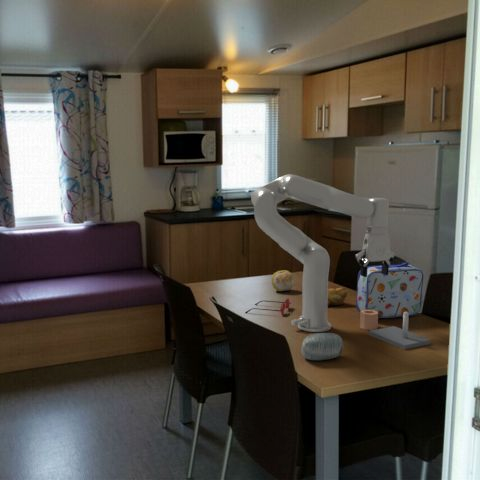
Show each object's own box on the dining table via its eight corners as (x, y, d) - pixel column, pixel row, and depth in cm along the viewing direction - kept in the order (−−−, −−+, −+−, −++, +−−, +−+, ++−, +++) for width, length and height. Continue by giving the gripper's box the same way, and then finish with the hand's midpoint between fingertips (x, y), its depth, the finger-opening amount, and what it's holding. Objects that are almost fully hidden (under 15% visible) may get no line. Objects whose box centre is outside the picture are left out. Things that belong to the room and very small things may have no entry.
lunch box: (412, 309, 242) (414, 258, 239) (426, 316, 233) (429, 263, 229) (353, 315, 235) (354, 262, 231) (365, 322, 225) (367, 267, 221)
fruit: (267, 290, 277) (267, 269, 276) (287, 287, 282) (287, 267, 280) (277, 294, 268) (278, 273, 267) (297, 292, 273) (298, 271, 271)
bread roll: (324, 308, 244) (324, 290, 243) (312, 303, 253) (312, 285, 252) (349, 305, 250) (349, 287, 248) (337, 300, 258) (337, 282, 257)
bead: (367, 330, 214) (368, 315, 213) (356, 326, 220) (356, 311, 219) (381, 328, 217) (381, 313, 216) (369, 323, 223) (370, 308, 222)
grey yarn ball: (338, 340, 193) (336, 320, 187) (348, 362, 186) (346, 341, 179) (299, 351, 192) (296, 331, 186) (307, 373, 185) (304, 353, 179)
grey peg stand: (404, 349, 194) (405, 318, 192) (368, 334, 209) (369, 305, 208) (430, 343, 199) (431, 313, 198) (393, 329, 215) (394, 301, 213)
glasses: (283, 317, 233) (283, 305, 233) (244, 313, 239) (244, 302, 238) (291, 308, 246) (291, 297, 246) (254, 305, 252) (254, 294, 251)
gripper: (363, 233, 209) (361, 279, 211) (401, 231, 216) (399, 275, 218) (351, 230, 215) (349, 275, 218) (389, 228, 222) (386, 272, 225)
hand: (374, 275), depth 218 cm, fingers open, 9 cm apart
